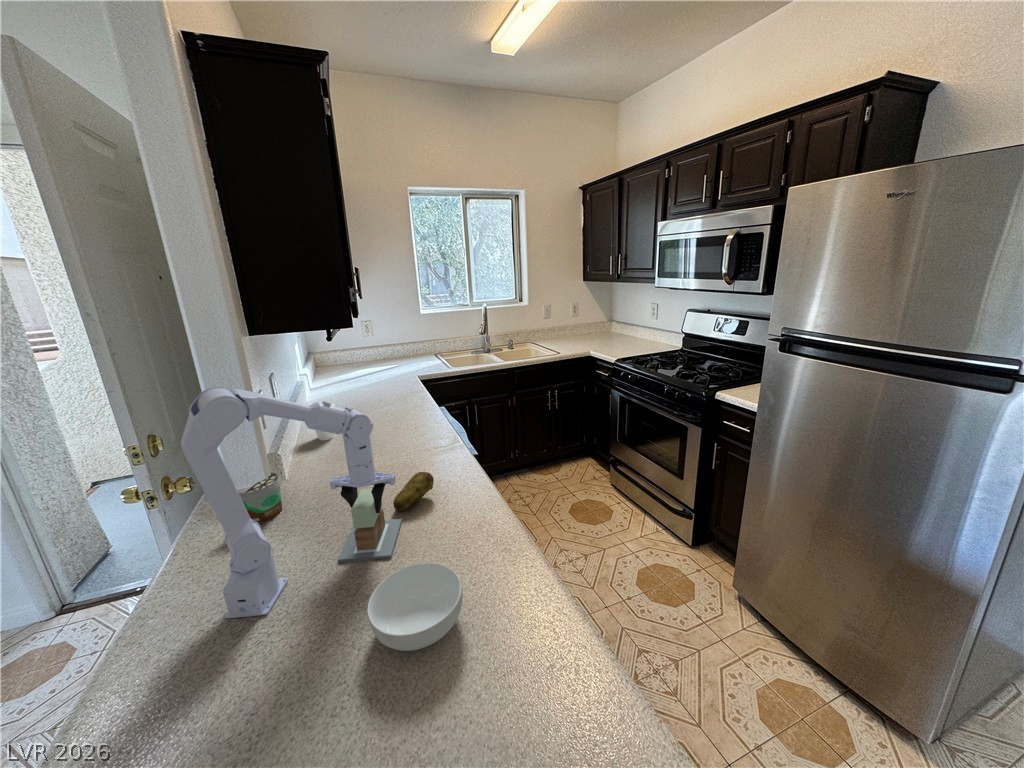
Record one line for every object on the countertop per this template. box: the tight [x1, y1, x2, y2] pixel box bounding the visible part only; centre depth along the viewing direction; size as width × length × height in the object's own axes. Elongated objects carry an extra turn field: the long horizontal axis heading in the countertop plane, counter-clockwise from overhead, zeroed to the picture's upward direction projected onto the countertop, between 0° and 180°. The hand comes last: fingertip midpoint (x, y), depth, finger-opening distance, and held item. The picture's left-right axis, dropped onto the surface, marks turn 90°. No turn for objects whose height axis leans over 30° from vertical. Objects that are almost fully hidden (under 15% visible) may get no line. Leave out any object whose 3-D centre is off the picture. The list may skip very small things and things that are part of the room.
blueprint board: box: [337, 518, 403, 563], centre depth 98 cm, size 14×12×1 cm
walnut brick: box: [354, 508, 386, 551], centre depth 97 cm, size 9×4×5 cm, turn 4°
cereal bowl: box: [366, 562, 463, 652], centre depth 73 cm, size 17×17×7 cm
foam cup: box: [315, 402, 336, 441], centre depth 160 cm, size 10×9×13 cm
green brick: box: [350, 487, 383, 529], centre depth 96 cm, size 9×4×5 cm, turn 5°
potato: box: [392, 471, 435, 512], centre depth 113 cm, size 8×13×8 cm, turn 125°
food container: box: [238, 471, 283, 524], centre depth 109 cm, size 12×6×10 cm, turn 168°
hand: (368, 511), depth 96 cm, fingers closed on green brick, 4 cm apart
